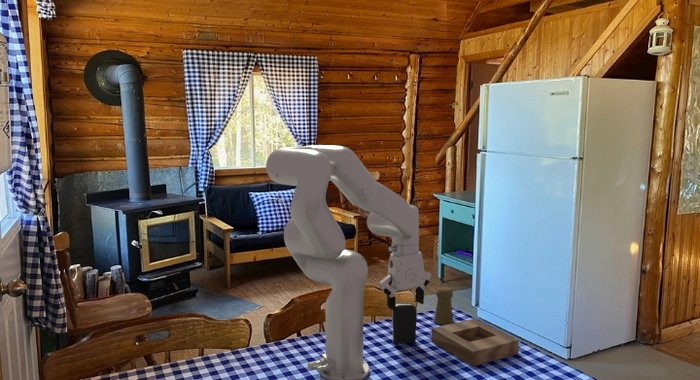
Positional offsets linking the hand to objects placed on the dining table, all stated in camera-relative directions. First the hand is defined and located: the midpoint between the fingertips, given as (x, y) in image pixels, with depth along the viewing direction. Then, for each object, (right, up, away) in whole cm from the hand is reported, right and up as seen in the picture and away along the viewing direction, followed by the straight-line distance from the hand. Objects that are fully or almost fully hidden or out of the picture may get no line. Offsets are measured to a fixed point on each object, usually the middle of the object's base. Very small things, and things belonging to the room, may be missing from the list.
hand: (405, 305), depth 155 cm
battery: (-1, -11, +1) cm, 11 cm away
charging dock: (+19, -11, -4) cm, 22 cm away
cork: (+14, -9, +16) cm, 23 cm away
